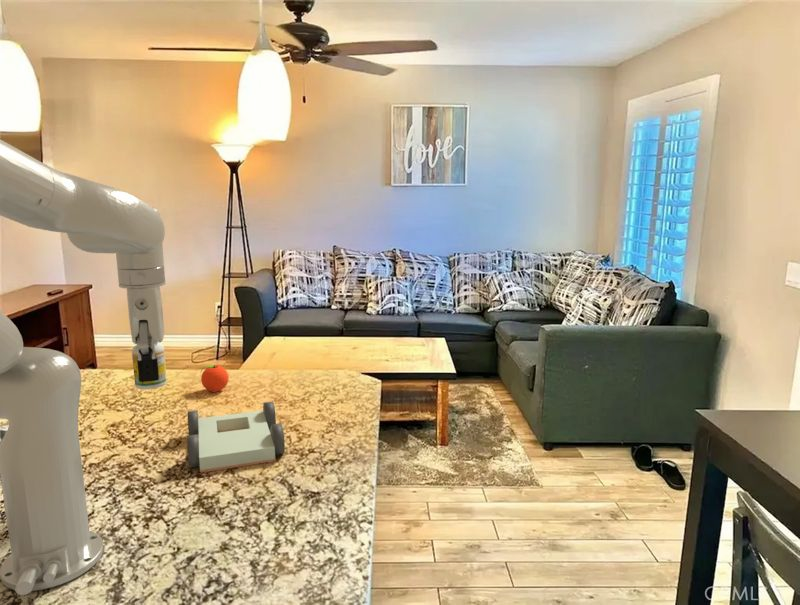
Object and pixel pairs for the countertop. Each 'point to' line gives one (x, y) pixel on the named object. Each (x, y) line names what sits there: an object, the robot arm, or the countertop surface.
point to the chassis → (234, 439)
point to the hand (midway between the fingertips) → (150, 374)
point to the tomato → (214, 378)
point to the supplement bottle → (161, 368)
